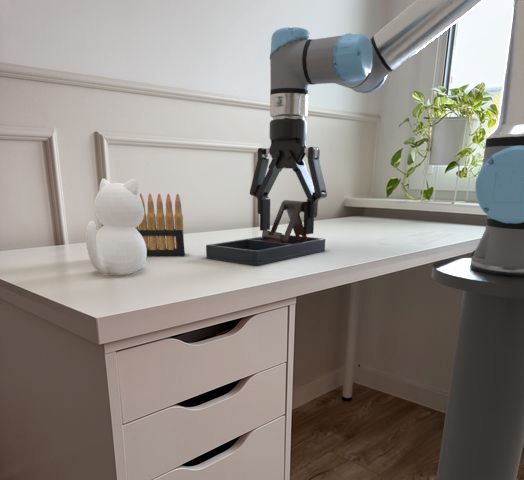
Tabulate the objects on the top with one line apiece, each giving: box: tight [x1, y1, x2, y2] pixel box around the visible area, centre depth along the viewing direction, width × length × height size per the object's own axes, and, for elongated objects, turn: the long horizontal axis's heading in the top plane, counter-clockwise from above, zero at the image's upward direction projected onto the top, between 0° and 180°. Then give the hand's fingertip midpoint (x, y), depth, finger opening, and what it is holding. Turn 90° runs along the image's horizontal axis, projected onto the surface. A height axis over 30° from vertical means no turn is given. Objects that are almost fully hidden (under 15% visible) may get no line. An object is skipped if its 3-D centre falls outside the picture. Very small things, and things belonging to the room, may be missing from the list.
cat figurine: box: [85, 178, 148, 276], centre depth 84 cm, size 9×12×15 cm
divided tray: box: [205, 233, 326, 267], centre depth 107 cm, size 13×24×3 cm, turn 143°
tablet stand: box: [261, 199, 308, 243], centre depth 110 cm, size 9×8×8 cm
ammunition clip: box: [135, 193, 186, 257], centre depth 102 cm, size 11×2×12 cm, turn 98°
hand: (286, 231), depth 110 cm, fingers closed on tablet stand, 11 cm apart
